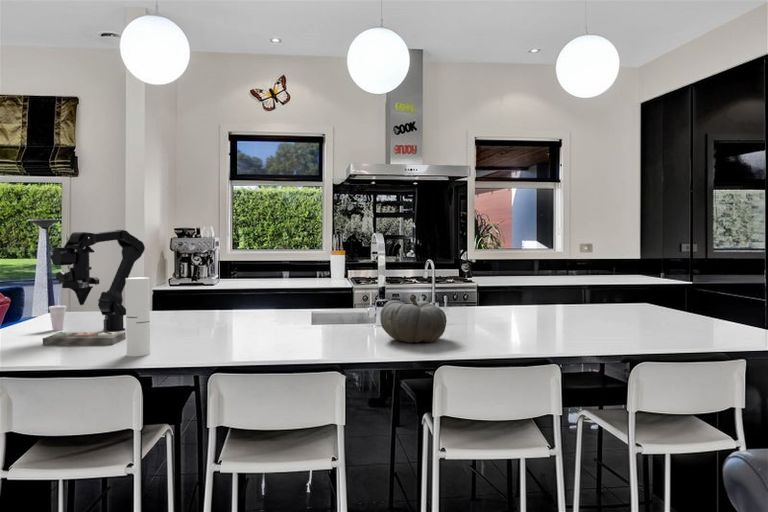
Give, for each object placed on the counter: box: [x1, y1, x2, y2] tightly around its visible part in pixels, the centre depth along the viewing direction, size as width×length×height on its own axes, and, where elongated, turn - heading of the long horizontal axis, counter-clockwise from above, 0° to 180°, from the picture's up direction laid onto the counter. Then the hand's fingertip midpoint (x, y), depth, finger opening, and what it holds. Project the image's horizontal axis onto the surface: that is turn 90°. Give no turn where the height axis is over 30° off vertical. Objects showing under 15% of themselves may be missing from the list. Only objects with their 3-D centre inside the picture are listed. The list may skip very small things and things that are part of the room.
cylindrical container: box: [125, 276, 151, 358], centre depth 189 cm, size 7×7×25 cm
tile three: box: [98, 331, 119, 336], centre depth 211 cm, size 5×5×3 cm
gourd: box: [379, 295, 447, 343], centre depth 216 cm, size 25×25×17 cm
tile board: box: [42, 331, 127, 347], centre depth 210 cm, size 24×12×2 cm, turn 94°
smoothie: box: [48, 295, 67, 332], centre depth 237 cm, size 6×6×14 cm
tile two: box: [51, 331, 74, 337], centre depth 210 cm, size 5×5×3 cm
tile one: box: [75, 331, 95, 337], centre depth 210 cm, size 5×5×3 cm
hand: (81, 304), depth 223 cm, fingers closed
